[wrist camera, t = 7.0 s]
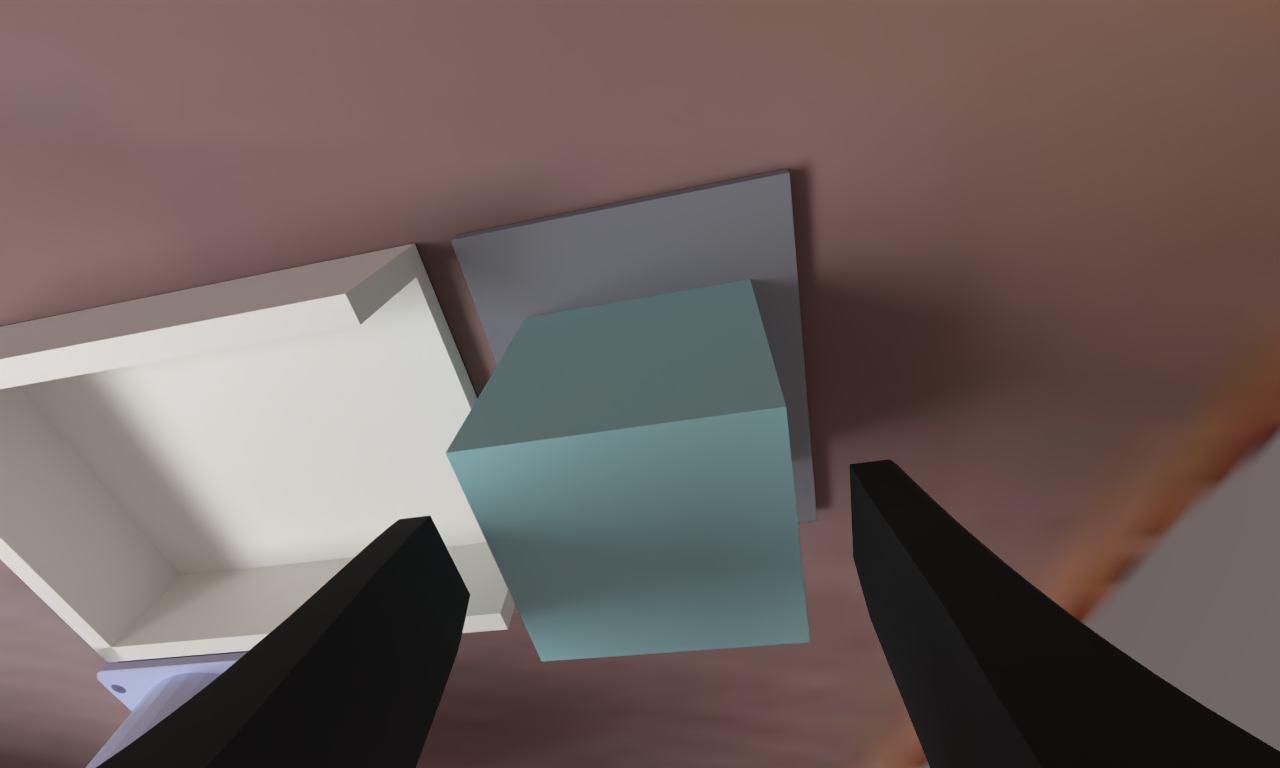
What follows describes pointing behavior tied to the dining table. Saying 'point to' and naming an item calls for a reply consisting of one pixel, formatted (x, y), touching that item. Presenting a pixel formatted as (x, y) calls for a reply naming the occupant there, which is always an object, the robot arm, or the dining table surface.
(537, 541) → the teal block
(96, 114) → the dining table surface
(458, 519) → the open box
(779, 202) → the charcoal mat
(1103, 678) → the robot arm
